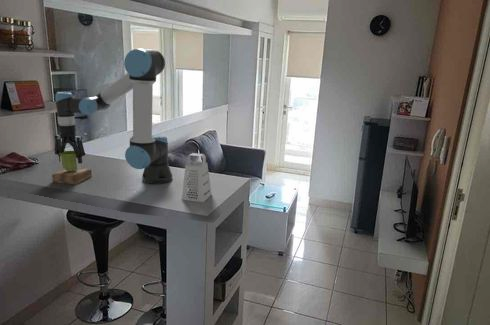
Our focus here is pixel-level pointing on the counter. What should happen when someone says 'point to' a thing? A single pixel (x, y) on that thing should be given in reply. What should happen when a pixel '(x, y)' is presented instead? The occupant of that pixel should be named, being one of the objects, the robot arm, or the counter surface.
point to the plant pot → (69, 160)
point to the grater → (196, 179)
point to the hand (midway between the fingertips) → (71, 168)
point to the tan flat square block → (71, 176)
